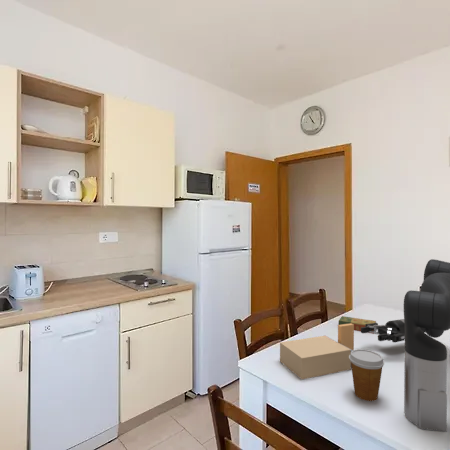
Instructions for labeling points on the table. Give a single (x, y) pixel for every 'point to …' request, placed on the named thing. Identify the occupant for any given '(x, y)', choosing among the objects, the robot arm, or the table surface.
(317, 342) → the box lid
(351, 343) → the grey box
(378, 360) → the disposable coffee cup
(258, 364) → the table surface
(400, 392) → the table surface
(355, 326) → the carton
